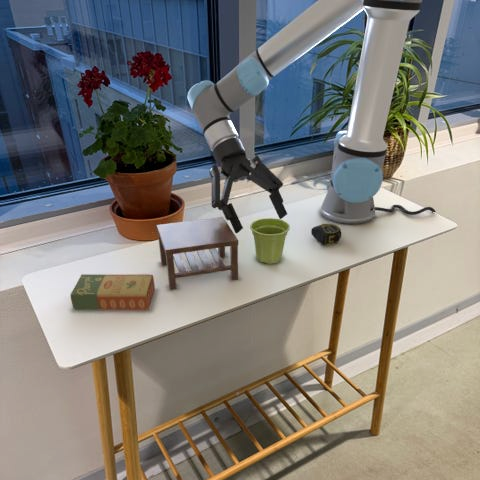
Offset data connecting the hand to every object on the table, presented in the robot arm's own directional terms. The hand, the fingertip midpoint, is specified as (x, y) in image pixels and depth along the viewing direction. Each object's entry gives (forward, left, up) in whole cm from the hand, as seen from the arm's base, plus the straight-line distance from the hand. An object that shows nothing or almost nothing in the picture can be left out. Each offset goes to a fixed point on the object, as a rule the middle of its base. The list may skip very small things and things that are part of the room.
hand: (262, 223), depth 117 cm
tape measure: (-18, -1, -8) cm, 20 cm away
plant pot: (-1, +3, -8) cm, 9 cm away
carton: (+37, +11, -8) cm, 39 cm away
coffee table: (+17, +4, -8) cm, 19 cm away
